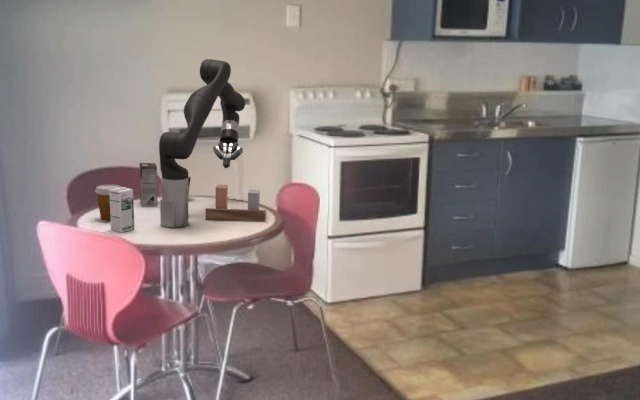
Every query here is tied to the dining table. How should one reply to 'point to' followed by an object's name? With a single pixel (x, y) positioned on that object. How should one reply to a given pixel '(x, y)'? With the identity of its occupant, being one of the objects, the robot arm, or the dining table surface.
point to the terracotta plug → (221, 197)
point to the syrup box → (121, 209)
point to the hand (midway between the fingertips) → (226, 167)
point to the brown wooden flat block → (235, 215)
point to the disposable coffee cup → (104, 200)
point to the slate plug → (253, 199)
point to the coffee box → (148, 184)
